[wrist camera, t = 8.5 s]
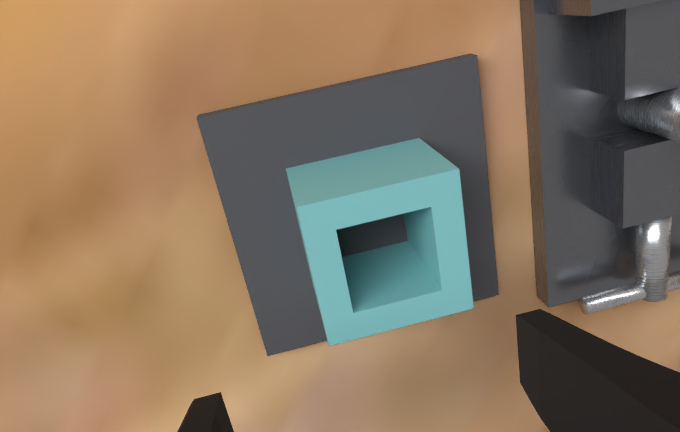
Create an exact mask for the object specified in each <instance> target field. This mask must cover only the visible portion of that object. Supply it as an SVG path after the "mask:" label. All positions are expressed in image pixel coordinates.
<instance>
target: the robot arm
mask: <svg viewBox="0 0 680 432" xmlns="http://www.w3.org/2000/svg"><path fill="white" fill-rule="evenodd" d="M516 325H517V340H518V355H519V370H520V383H521V385H522V386H523V388H524V390H525V392H526V394H527V395H528V397H529V399H530V401H531V403H532V404H533V406H534V408H535V409H536V411H537V413H538V415H539V416H540V418H541V419H542V421H543V422H544V424H545V425H546V426H547V428H548V429H549V430H550V432H680V372H677V371H674V370H672V369H669V368H666V367H664V366H661V365H659V364H657V363H654V362H652V361H649V360H647V359H645V358H642V357H640V356H637V355H635V354H633V353H631V352H628V351H626V350H624V349H622V348H619V347H617V346H615V345H613V344H611V343H609V342H607V341H605V340H602V339H600V338H598V337H596V336H594V335H592V334H590V333H588V332H586V331H584V330H582V329H580V328H578V327H576V326H574V325H572V324H570V323H568V322H566V321H564V320H562V319H560V318H558V317H556V316H554V315H552V314H550V313H547V312H545V311H543V310H541V309H538V310H534V311H530V312H526V313H522V314H519V315H516ZM178 432H234V431H233V428H232V425H231V422H230V419H229V416H228V413H227V410H226V407H225V404H224V401H223V398H222V395H221V392H220V393H216V394H212V395H209V396H205V397H201V398H197V399H194V401H193V402H192V403H191V405H190V407H189V409H188V411H187V413H186V415H185V417H184V420H183V422H182V424H181V426H180V428H179V430H178Z"/></svg>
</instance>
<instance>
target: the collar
mask: <svg viewBox="0 0 680 432" xmlns="http://www.w3.org/2000/svg"><path fill="white" fill-rule="evenodd" d="M286 171H287V176H288V180H289V184H290V188H291V193H292V197H293V201H294V205H295V210H296V214H297V218H298V222H299V227H300V231H301V235H302V239H303V244H304V248H305V252H306V256H307V261H308V265H309V269H310V273H311V278H312V282H313V286H314V290H315V294H316V298H317V302H318V306H319V309H320V313H321V317H322V321H323V325H324V329H325V333H326V336H327V340H328V344H329V346H332V345H335V344H339V343H343V342H347V341H351V340H355V339H358V338H362V337H366V336H370V335H374V334H378V333H381V332H385V331H389V330H393V329H397V328H401V327H404V326H408V325H412V324H416V323H420V322H424V321H427V320H431V319H435V318H439V317H443V316H447V315H450V314H454V313H458V312H462V311H466V310H470V309H473V308H474V306H473V296H472V286H471V277H470V267H469V258H468V248H467V239H466V229H465V219H464V210H463V200H462V191H461V181H460V171H459V168H458V167H456V166H455V165H454V164H452V163H451V162H450V161H449V160H447V159H446V158H445V157H443V156H442V155H441V154H439V153H438V152H437V151H436V150H434V149H433V148H432V147H430V146H429V145H428V144H426V143H425V142H424V141H422V140H421V139H420V138H417V139H412V140H408V141H404V142H399V143H395V144H391V145H386V146H382V147H378V148H373V149H369V150H365V151H360V152H356V153H351V154H347V155H343V156H338V157H334V158H330V159H325V160H321V161H317V162H312V163H308V164H304V165H299V166H295V167H291V168H286ZM399 214H404V220H405V227H406V233H407V240H408V241H406V242H402V243H397V244H393V245H389V246H385V247H381V248H377V249H373V250H369V251H365V252H361V253H357V254H353V255H349V256H345V257H342V256H341V251H340V246H339V242H338V237H337V232H336V230H337V229H342V228H346V227H350V226H354V225H358V224H362V223H366V222H371V221H375V220H379V219H383V218H387V217H391V216H395V215H399Z"/></svg>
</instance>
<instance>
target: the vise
mask: <svg viewBox="0 0 680 432" xmlns="http://www.w3.org/2000/svg"><path fill="white" fill-rule="evenodd" d="M520 10H521V27H522V44H523V62H524V79H525V97H526V114H527V131H528V149H529V166H530V183H531V201H532V218H533V236H534V253H535V270H536V288H537V297H538V298H540V299H541V300H542V301H543V302H544V303H545V304H546V305H547V306H548V307H553V306H556V305H560V304H564V303H567V302H571V301H575V300H579V305H580V308H581V310H582V311H583V313H585V314H589V313H593V312H597V311H600V310H604V309H608V308H611V307H615V306H619V305H622V304H626V303H630V302H633V301H637V300H641V299H642V300H645V301H650V302H658V301H662V300H665V299H666V298H667V296H668V292H670V291H674V290H677V289H680V0H520Z"/></svg>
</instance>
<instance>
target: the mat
mask: <svg viewBox="0 0 680 432" xmlns="http://www.w3.org/2000/svg"><path fill="white" fill-rule="evenodd" d="M197 121H198V124H199V128H200V131H201V134H202V138H203V141H204V144H205V148H206V151H207V155H208V158H209V161H210V165H211V168H212V171H213V175H214V178H215V181H216V185H217V188H218V191H219V195H220V198H221V201H222V205H223V208H224V211H225V215H226V218H227V222H228V225H229V228H230V232H231V235H232V238H233V242H234V245H235V248H236V252H237V255H238V258H239V262H240V265H241V268H242V272H243V275H244V279H245V282H246V285H247V289H248V292H249V295H250V299H251V302H252V305H253V309H254V312H255V315H256V319H257V322H258V325H259V329H260V332H261V335H262V339H263V342H264V346H265V349H266V352H267V356H270V355H274V354H278V353H281V352H285V351H289V350H293V349H296V348H300V347H304V346H308V345H311V344H315V343H319V342H323V341H327V336H326V333H325V329H324V325H323V321H322V317H321V313H320V309H319V306H318V302H317V298H316V294H315V290H314V286H313V282H312V278H311V273H310V269H309V265H308V261H307V256H306V252H305V248H304V244H303V239H302V235H301V231H300V227H299V222H298V218H297V214H296V210H295V205H294V201H293V197H292V193H291V188H290V184H289V180H288V176H287V171H286V168H291V167H295V166H299V165H304V164H308V163H312V162H317V161H321V160H325V159H330V158H334V157H338V156H343V155H347V154H351V153H356V152H360V151H365V150H369V149H373V148H378V147H382V146H386V145H391V144H395V143H399V142H404V141H408V140H412V139H417V138H420V139H421V140H422V141H424V142H425V143H426V144H428V145H429V146H430V147H432V148H433V149H434V150H436V151H437V152H438V153H439V154H441V155H442V156H443V157H445V158H446V159H447V160H449V161H450V162H451V163H452V164H454V165H455V166H456V167H458V168H459V171H460V181H461V191H462V200H463V210H464V219H465V229H466V239H467V248H468V258H469V267H470V277H471V286H472V296H473V302H474V301H477V300H481V299H485V298H489V297H492V296H496V295H499V294H498V282H497V271H496V260H495V249H494V238H493V227H492V216H491V204H490V193H489V182H488V171H487V160H486V149H485V137H484V126H483V115H482V104H481V93H480V82H479V70H478V59H477V55H474V54H467V55H463V56H458V57H454V58H449V59H445V60H440V61H436V62H431V63H427V64H423V65H418V66H414V67H409V68H405V69H400V70H396V71H391V72H387V73H383V74H378V75H374V76H369V77H365V78H360V79H356V80H352V81H347V82H343V83H338V84H334V85H329V86H325V87H320V88H316V89H312V90H307V91H303V92H298V93H294V94H289V95H285V96H280V97H276V98H272V99H267V100H263V101H258V102H254V103H249V104H245V105H241V106H236V107H232V108H227V109H223V110H218V111H214V112H209V113H205V114H201V115H198V116H197ZM336 232H337V237H338V242H339V246H340V251H341V256H342V257H345V256H349V255H353V254H357V253H361V252H365V251H369V250H373V249H377V248H381V247H385V246H389V245H393V244H397V243H402V242H406V241H408V240H407V233H406V227H405V220H404V214H399V215H395V216H391V217H387V218H383V219H379V220H375V221H371V222H366V223H362V224H358V225H354V226H350V227H346V228H342V229H337V230H336Z"/></svg>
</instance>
